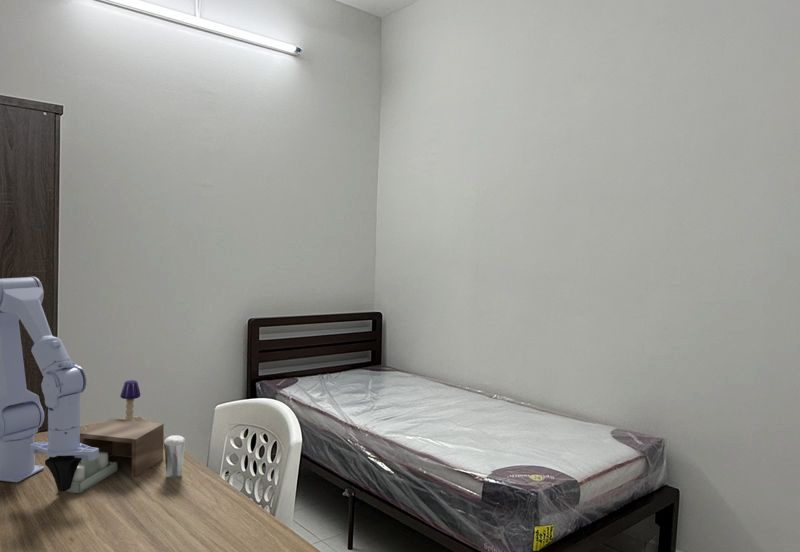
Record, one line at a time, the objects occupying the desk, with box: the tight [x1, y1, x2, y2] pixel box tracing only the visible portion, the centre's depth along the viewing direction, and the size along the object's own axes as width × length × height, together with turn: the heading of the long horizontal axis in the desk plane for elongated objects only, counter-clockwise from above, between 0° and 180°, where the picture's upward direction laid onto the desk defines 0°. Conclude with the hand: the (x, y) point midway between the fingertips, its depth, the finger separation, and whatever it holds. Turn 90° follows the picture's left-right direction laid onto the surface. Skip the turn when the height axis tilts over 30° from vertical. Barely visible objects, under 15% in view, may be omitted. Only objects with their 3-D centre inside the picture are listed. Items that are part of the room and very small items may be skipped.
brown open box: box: [79, 418, 165, 478], centre depth 137 cm, size 14×11×9 cm
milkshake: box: [163, 434, 188, 479], centre depth 132 cm, size 4×5×10 cm
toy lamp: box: [120, 379, 141, 421], centre depth 149 cm, size 5×5×17 cm
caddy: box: [65, 447, 118, 494], centre depth 128 cm, size 5×12×7 cm, turn 170°
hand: (64, 489), depth 121 cm, fingers closed, pressing on caddy
